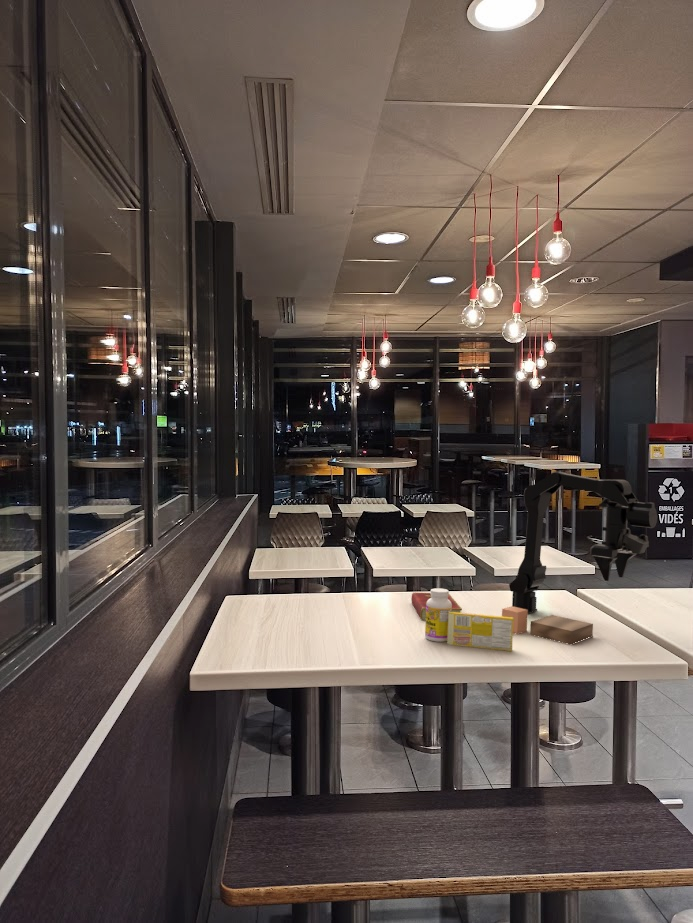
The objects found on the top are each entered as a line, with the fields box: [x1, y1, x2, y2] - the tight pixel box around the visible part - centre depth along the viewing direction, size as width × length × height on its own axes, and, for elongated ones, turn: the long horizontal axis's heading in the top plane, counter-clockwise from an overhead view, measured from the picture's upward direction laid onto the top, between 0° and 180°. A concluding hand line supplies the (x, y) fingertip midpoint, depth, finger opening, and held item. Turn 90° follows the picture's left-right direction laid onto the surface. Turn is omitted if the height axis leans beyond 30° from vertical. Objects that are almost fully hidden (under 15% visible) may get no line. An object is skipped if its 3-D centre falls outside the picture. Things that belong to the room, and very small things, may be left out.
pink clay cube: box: [501, 605, 529, 635], centre depth 189 cm, size 5×5×6 cm
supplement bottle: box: [424, 587, 452, 643], centre depth 177 cm, size 7×7×13 cm
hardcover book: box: [410, 591, 463, 621], centre depth 207 cm, size 12×21×4 cm, turn 2°
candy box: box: [446, 612, 514, 652], centre depth 172 cm, size 16×2×8 cm, turn 74°
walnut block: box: [529, 614, 594, 645], centre depth 185 cm, size 12×12×4 cm
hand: (613, 579), depth 192 cm, fingers open, 9 cm apart
